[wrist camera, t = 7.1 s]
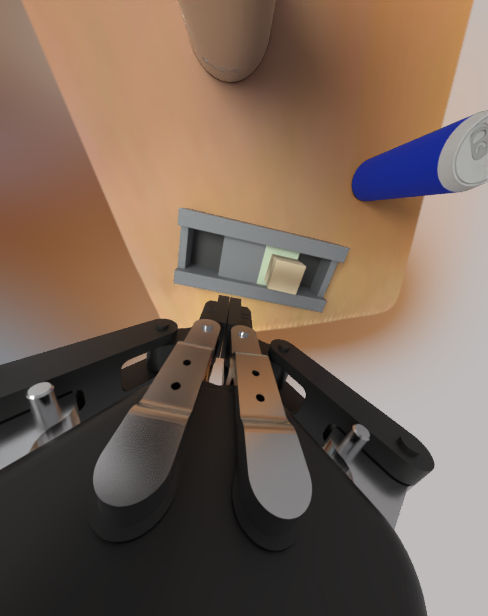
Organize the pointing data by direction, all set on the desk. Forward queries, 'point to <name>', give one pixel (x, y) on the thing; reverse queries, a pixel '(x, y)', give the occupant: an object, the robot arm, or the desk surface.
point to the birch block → (284, 274)
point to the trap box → (251, 259)
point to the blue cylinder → (429, 164)
